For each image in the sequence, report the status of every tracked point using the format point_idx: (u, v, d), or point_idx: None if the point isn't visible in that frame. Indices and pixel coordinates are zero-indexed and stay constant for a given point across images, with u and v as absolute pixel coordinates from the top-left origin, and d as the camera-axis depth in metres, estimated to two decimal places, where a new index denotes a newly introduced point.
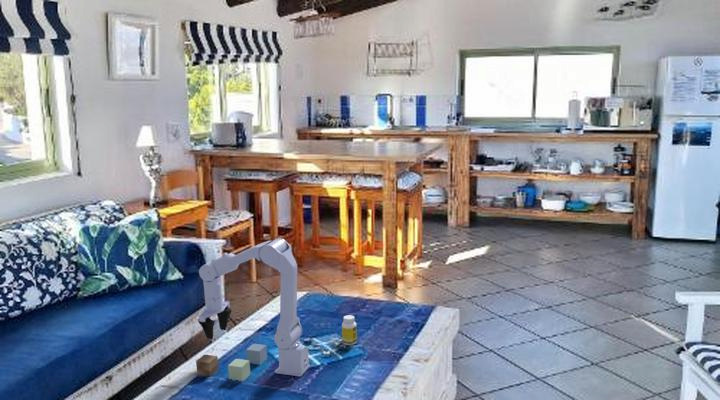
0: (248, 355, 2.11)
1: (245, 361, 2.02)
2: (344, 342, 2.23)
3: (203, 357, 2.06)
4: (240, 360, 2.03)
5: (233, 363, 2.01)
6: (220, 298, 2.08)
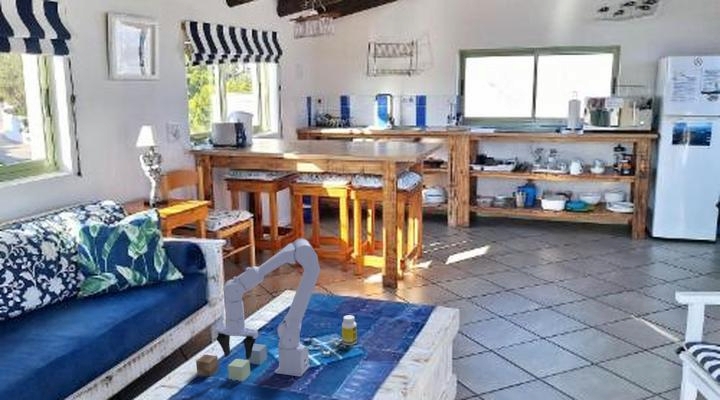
0: None
1: (245, 361, 2.02)
2: (344, 342, 2.23)
3: (203, 357, 2.06)
4: (240, 360, 2.03)
5: (233, 363, 2.01)
6: (231, 321, 1.95)
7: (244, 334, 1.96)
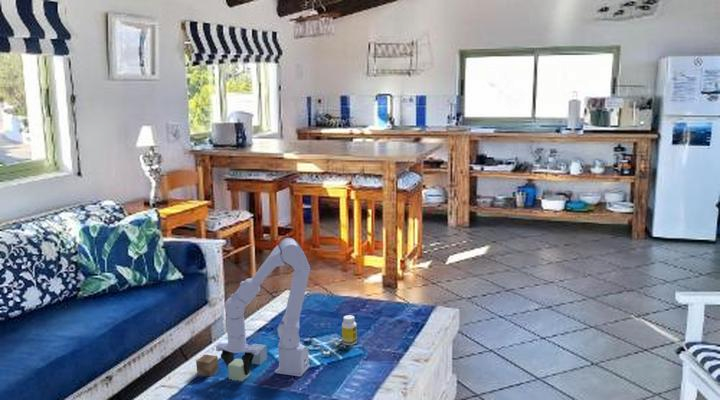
0: None
1: None
2: (344, 342, 2.23)
3: (203, 357, 2.06)
4: (240, 360, 2.03)
5: (233, 362, 2.01)
6: (232, 338, 1.96)
7: (245, 351, 1.97)
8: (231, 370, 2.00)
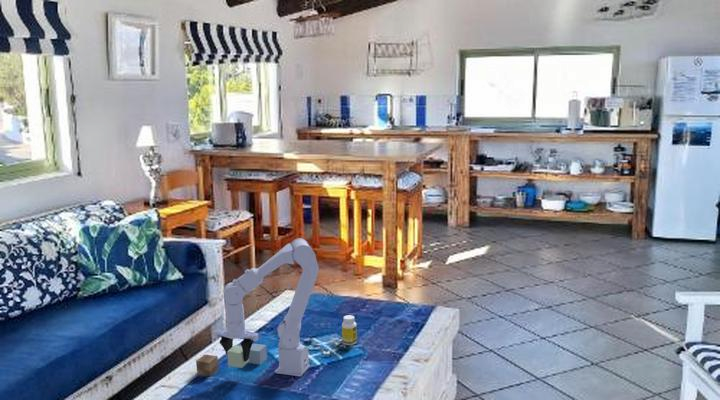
0: None
1: None
2: (344, 342, 2.23)
3: (203, 357, 2.06)
4: (239, 347, 2.02)
5: (232, 349, 2.00)
6: (231, 324, 1.96)
7: (244, 337, 1.96)
8: (230, 356, 1.99)
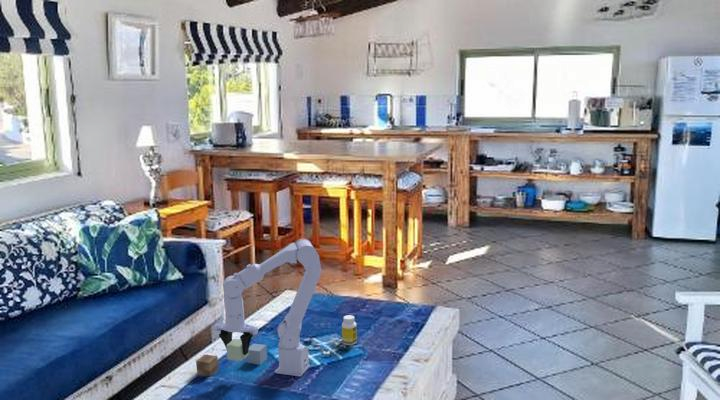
0: (248, 355, 2.11)
1: None
2: (344, 342, 2.23)
3: (203, 357, 2.06)
4: (238, 340, 2.01)
5: (231, 343, 2.00)
6: (231, 318, 1.95)
7: (244, 330, 1.96)
8: (229, 350, 1.98)
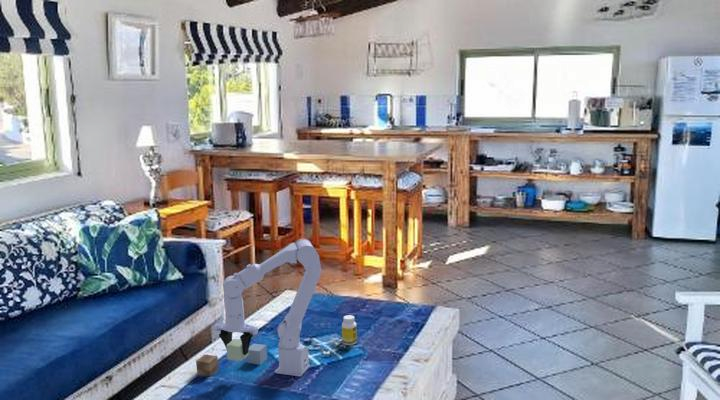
0: (248, 355, 2.11)
1: None
2: (344, 342, 2.23)
3: (203, 357, 2.06)
4: (238, 340, 2.01)
5: (231, 343, 2.00)
6: (231, 318, 1.95)
7: (244, 330, 1.96)
8: (229, 350, 1.98)
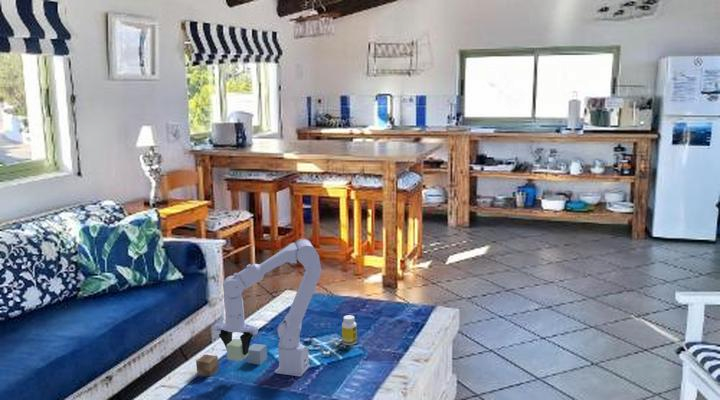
0: (248, 355, 2.11)
1: None
2: (344, 342, 2.23)
3: (203, 357, 2.06)
4: (238, 340, 2.01)
5: (231, 343, 2.00)
6: (231, 318, 1.95)
7: (244, 330, 1.96)
8: (229, 350, 1.98)
